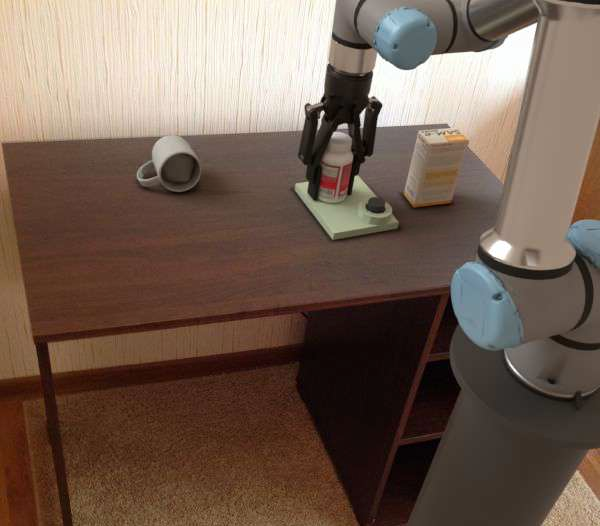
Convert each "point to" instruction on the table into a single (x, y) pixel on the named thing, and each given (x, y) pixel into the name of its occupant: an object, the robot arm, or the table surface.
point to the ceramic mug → (172, 165)
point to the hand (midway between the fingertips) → (329, 193)
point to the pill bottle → (336, 168)
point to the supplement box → (435, 166)
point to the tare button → (376, 205)
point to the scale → (349, 212)
